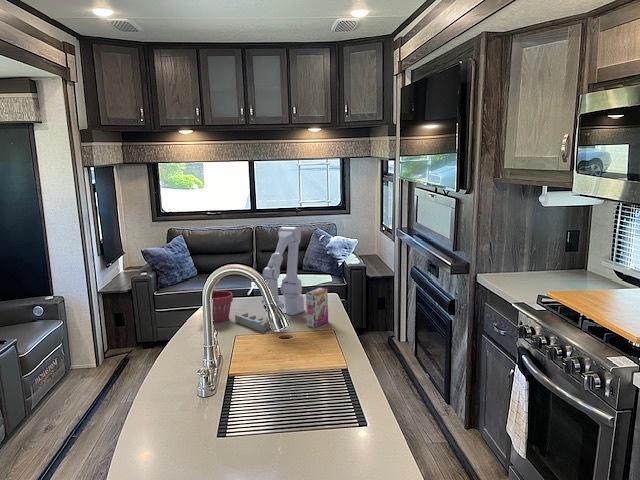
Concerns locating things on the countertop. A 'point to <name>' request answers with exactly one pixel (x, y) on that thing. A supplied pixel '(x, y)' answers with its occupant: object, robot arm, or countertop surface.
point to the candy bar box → (317, 307)
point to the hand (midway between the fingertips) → (273, 319)
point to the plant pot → (221, 305)
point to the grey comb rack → (252, 322)
